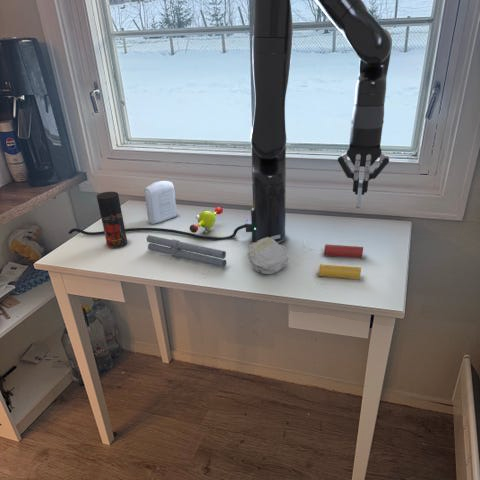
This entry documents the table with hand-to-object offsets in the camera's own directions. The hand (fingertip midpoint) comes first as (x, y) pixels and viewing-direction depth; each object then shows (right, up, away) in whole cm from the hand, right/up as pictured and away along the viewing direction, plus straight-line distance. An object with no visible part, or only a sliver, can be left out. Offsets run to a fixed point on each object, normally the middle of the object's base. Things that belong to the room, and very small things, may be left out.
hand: (359, 193), depth 124 cm
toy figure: (-42, -7, +21) cm, 47 cm away
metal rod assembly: (-47, -17, +6) cm, 50 cm away
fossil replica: (-24, -20, -2) cm, 32 cm away
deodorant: (-68, -11, +16) cm, 71 cm away
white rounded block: (-57, 0, +31) cm, 65 cm away
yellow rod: (-7, -23, -7) cm, 25 cm away
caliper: (0, -1, 0) cm, 1 cm away
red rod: (-4, -16, +3) cm, 17 cm away
